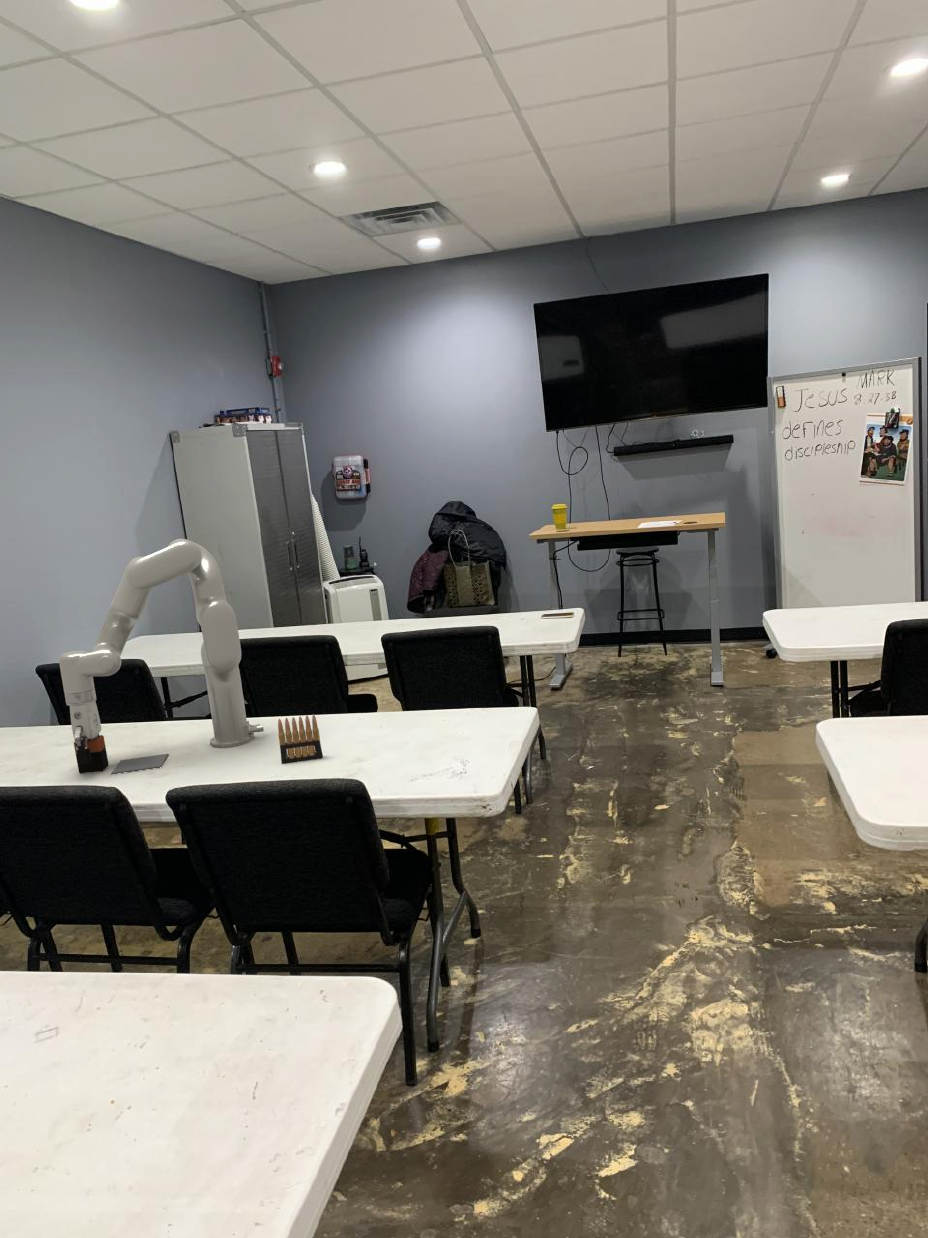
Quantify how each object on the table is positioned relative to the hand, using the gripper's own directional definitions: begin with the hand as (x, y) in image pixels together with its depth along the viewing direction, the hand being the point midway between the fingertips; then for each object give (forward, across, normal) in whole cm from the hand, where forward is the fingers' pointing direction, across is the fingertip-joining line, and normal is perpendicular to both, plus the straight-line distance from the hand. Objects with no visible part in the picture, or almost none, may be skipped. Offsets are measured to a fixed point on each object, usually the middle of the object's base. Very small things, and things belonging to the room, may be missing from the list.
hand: (90, 757), depth 235 cm
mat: (+4, -1, -13) cm, 13 cm away
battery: (+4, 0, 0) cm, 4 cm away
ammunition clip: (+3, -17, -57) cm, 60 cm away
